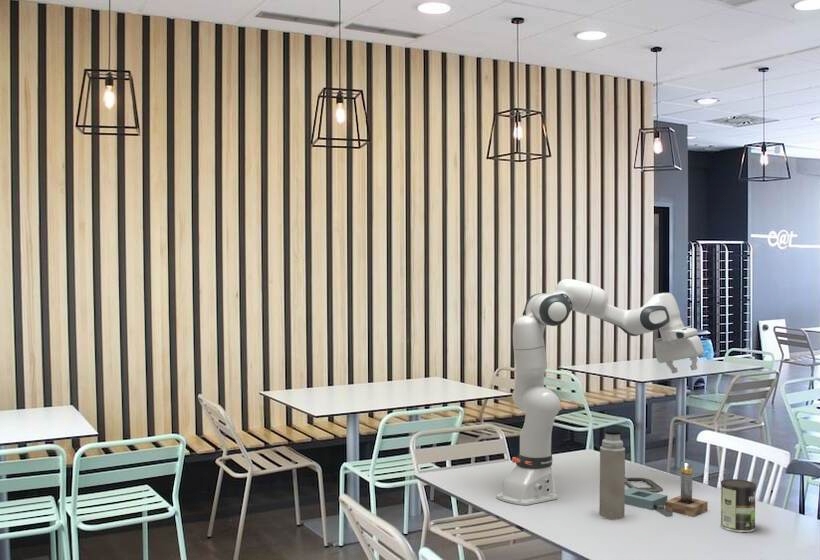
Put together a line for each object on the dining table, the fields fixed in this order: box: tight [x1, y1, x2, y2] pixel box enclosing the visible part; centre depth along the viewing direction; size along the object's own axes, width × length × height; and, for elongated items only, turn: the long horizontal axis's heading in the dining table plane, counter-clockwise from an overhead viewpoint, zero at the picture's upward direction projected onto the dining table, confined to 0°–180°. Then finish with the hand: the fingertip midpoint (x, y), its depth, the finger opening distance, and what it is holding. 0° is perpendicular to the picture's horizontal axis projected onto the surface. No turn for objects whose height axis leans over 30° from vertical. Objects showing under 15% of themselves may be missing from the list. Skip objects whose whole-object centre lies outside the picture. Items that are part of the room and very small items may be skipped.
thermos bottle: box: [599, 429, 626, 520], centre depth 278 cm, size 8×8×28 cm
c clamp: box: [625, 476, 664, 493], centre depth 313 cm, size 20×17×3 cm
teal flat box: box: [625, 487, 669, 511], centre depth 293 cm, size 10×14×3 cm
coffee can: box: [720, 478, 757, 533], centre depth 266 cm, size 10×10×14 cm
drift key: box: [653, 504, 673, 518], centre depth 282 cm, size 8×2×2 cm, turn 14°
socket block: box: [664, 495, 709, 518], centre depth 284 cm, size 10×10×3 cm
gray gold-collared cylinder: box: [680, 461, 694, 504], centre depth 284 cm, size 4×4×16 cm
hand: (684, 371), depth 311 cm, fingers open, 8 cm apart
